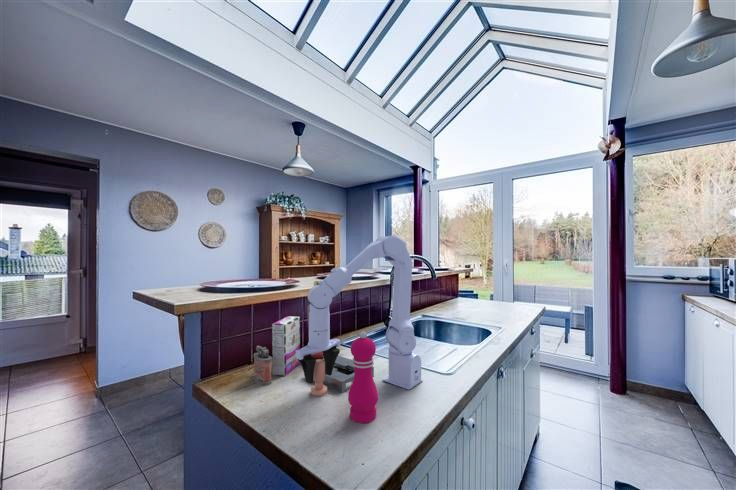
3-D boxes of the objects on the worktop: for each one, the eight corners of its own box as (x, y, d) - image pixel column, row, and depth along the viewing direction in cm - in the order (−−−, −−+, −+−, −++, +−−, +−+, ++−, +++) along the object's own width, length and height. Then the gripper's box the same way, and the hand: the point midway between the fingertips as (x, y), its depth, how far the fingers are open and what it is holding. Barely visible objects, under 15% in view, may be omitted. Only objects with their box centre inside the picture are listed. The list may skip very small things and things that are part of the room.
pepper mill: (368, 428, 66) (368, 337, 66) (341, 418, 70) (342, 332, 70) (383, 413, 72) (383, 330, 72) (359, 405, 76) (359, 326, 76)
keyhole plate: (373, 376, 93) (373, 366, 93) (342, 392, 82) (342, 381, 82) (337, 364, 103) (337, 355, 103) (305, 377, 92) (305, 367, 93)
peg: (330, 392, 83) (330, 361, 83) (318, 398, 79) (318, 365, 79) (319, 387, 85) (320, 357, 86) (307, 393, 82) (307, 361, 82)
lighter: (274, 383, 88) (274, 349, 89) (263, 386, 86) (263, 351, 86) (261, 375, 94) (261, 343, 94) (250, 378, 91) (251, 345, 92)
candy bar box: (287, 362, 105) (287, 315, 105) (300, 363, 104) (300, 316, 104) (270, 375, 94) (271, 323, 94) (285, 376, 93) (285, 323, 93)
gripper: (328, 322, 91) (328, 366, 91) (288, 331, 80) (288, 383, 79) (345, 325, 86) (345, 372, 86) (305, 336, 75) (305, 390, 75)
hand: (319, 378), depth 82 cm, fingers open, 6 cm apart
